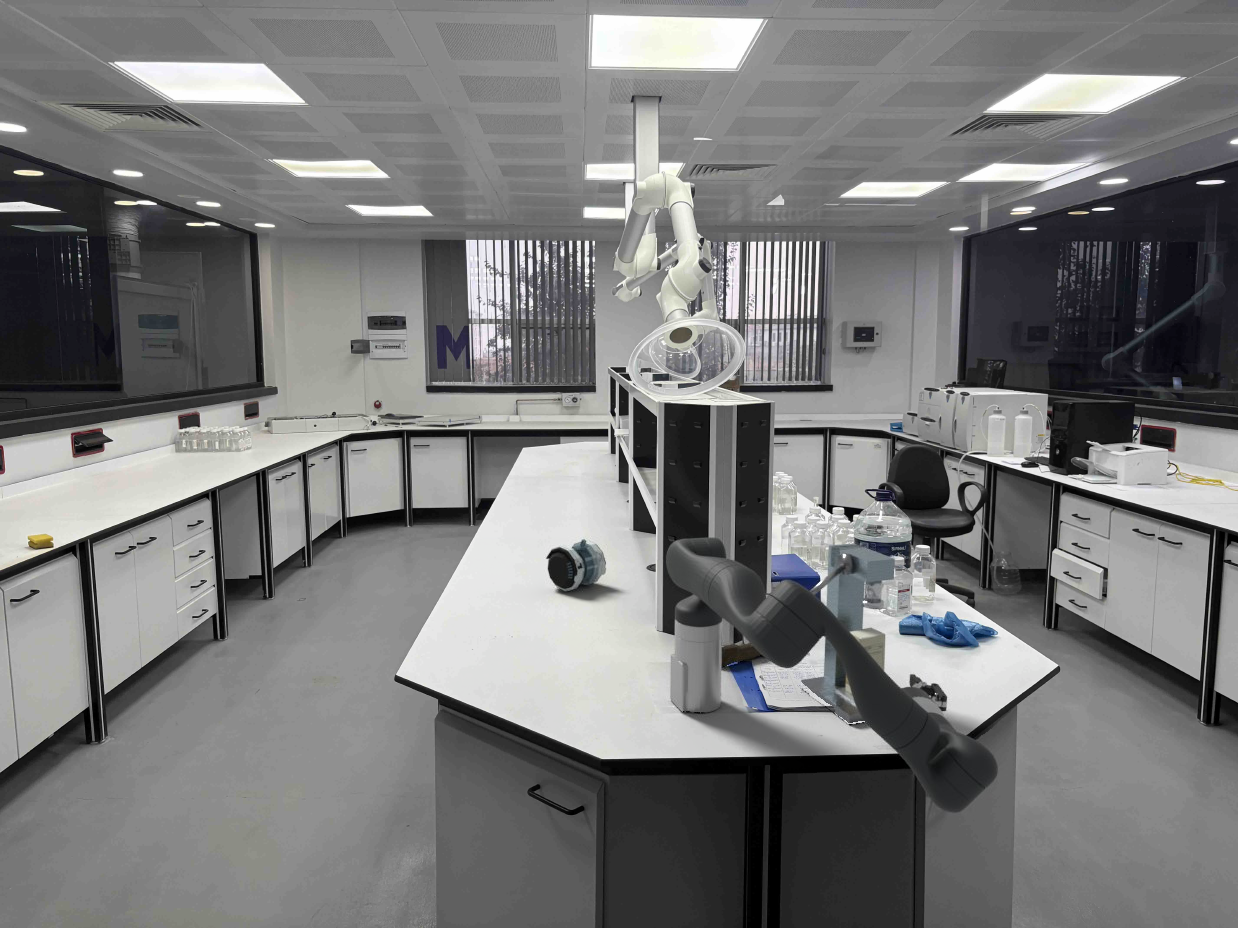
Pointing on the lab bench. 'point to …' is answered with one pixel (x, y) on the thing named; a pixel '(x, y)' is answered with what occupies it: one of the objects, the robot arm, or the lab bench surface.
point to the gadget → (576, 565)
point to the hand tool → (738, 653)
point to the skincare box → (871, 646)
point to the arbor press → (848, 614)
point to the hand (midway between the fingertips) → (887, 678)
